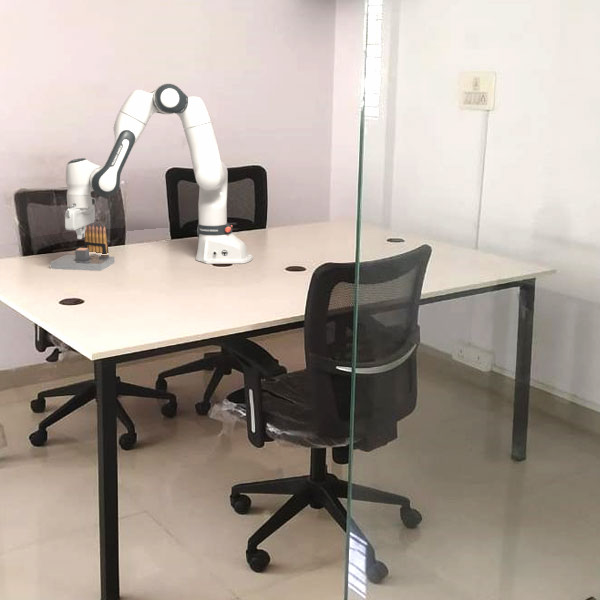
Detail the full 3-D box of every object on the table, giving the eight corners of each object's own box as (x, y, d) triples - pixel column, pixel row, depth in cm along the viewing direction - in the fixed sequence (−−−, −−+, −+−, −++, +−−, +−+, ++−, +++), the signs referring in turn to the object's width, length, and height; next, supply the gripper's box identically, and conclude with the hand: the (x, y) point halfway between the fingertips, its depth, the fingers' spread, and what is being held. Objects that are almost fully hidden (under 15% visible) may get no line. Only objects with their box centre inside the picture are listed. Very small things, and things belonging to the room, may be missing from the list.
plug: (89, 264, 349) (89, 248, 348) (85, 266, 345) (84, 249, 344) (80, 263, 350) (79, 247, 348) (75, 265, 346) (74, 249, 344)
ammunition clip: (84, 254, 369) (82, 225, 366) (87, 253, 371) (85, 224, 368) (106, 256, 365) (104, 226, 362) (108, 255, 367) (107, 226, 364)
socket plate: (114, 262, 353) (114, 254, 352) (100, 270, 339) (100, 261, 339) (66, 261, 356) (65, 252, 355) (50, 268, 343) (50, 260, 342)
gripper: (75, 206, 331) (77, 243, 335) (97, 198, 351) (99, 234, 354) (59, 205, 332) (61, 243, 336) (81, 198, 352) (83, 233, 355)
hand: (81, 238), depth 345 cm, fingers closed
